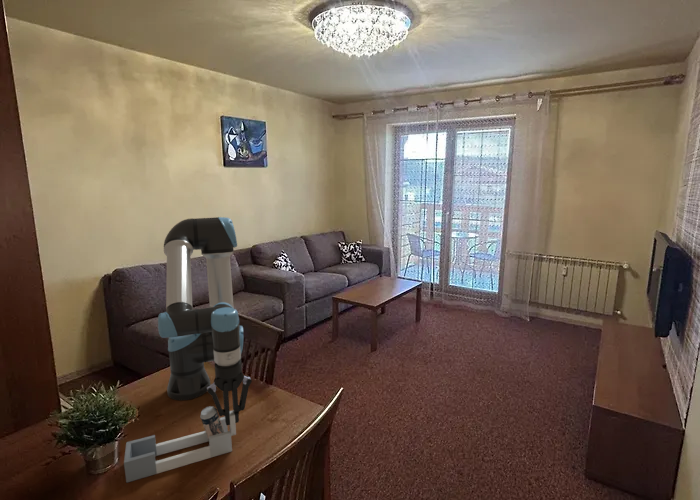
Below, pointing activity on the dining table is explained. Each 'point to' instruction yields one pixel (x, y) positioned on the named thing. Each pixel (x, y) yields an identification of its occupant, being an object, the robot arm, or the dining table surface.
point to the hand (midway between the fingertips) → (232, 432)
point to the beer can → (211, 421)
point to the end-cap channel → (145, 449)
